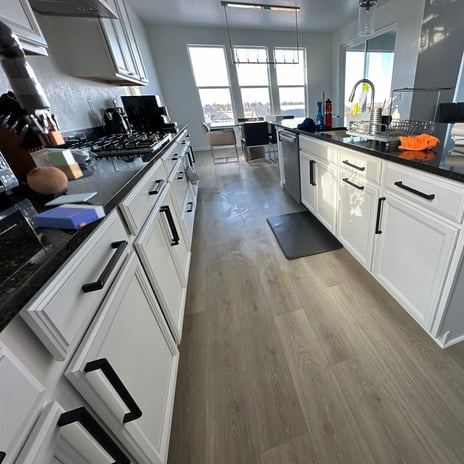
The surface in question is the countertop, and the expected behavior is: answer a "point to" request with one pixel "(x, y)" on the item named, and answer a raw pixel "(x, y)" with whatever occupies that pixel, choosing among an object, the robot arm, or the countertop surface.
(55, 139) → the top cube
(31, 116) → the robot arm
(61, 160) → the middle block
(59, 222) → the walkman
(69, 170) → the bottom block
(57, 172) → the onion
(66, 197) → the pad
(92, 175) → the countertop surface
